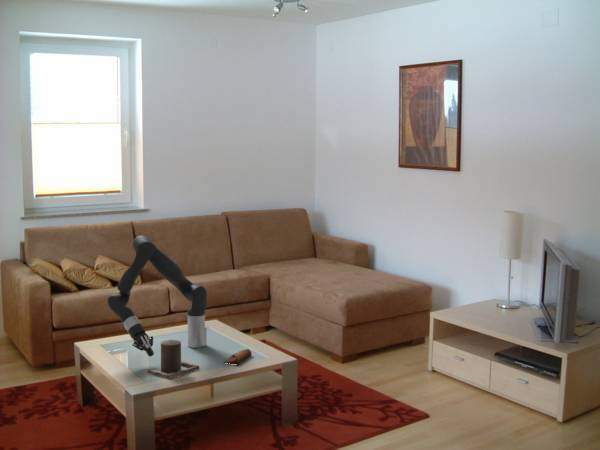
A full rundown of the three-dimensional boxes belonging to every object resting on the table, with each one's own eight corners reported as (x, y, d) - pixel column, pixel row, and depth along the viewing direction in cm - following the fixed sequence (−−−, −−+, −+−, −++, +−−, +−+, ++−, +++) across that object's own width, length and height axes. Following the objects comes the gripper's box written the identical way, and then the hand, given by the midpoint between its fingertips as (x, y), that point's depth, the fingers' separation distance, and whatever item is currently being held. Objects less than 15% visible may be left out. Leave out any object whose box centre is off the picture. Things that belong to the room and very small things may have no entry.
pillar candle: (174, 374, 338) (174, 343, 336) (156, 371, 342) (156, 340, 340) (185, 368, 347) (185, 338, 345) (167, 365, 351) (167, 336, 349)
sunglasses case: (236, 353, 370) (242, 343, 369) (247, 361, 369) (253, 351, 367) (221, 364, 354) (228, 353, 352) (233, 372, 352) (239, 361, 350)
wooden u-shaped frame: (147, 372, 340) (147, 369, 339) (175, 362, 355) (175, 359, 355) (171, 379, 331) (171, 376, 331) (199, 368, 346) (199, 365, 346)
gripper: (140, 328, 363) (157, 356, 358) (120, 334, 352) (138, 363, 347) (147, 320, 359) (165, 348, 354) (127, 325, 348) (145, 354, 343)
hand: (151, 355), depth 350 cm, fingers closed
